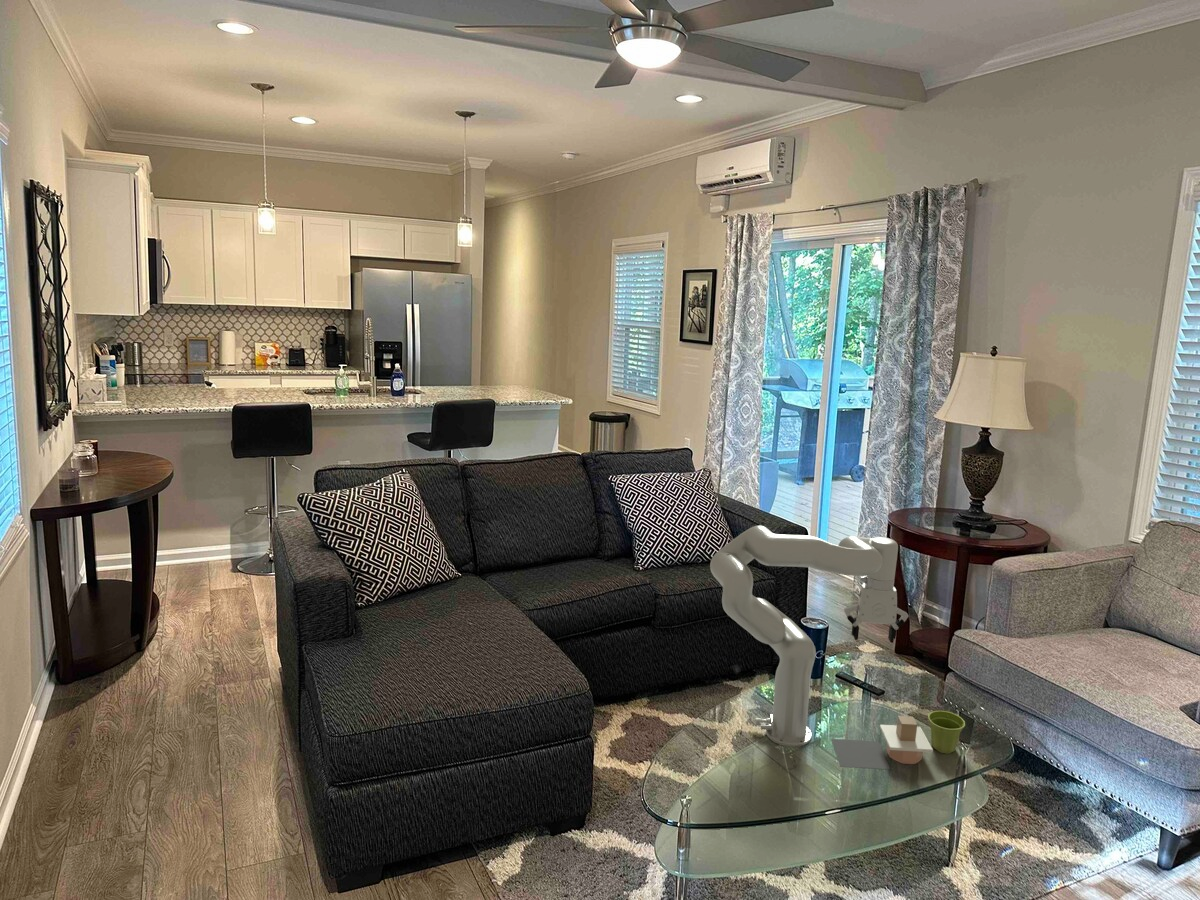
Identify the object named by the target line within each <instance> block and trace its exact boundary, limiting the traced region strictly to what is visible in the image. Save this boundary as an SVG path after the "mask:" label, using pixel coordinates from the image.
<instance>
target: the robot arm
mask: <svg viewBox="0 0 1200 900" xmlns="http://www.w3.org/2000/svg"><path fill="white" fill-rule="evenodd" d="M898 552H899V544H898V543H897V541H895V540H894V539H893V538H889V537H883V536H879V537H874V538H873V537H871V538H870V537H862V536H854V535H853V536H851V535H850V536H847V537H845V538H843V539H842V540H840V541H839V543H838V545H837V544H834V543H830V542H829V541H826V540H824V539H822V538H819V537H818V536H817V537H816V536H812V535H809V534H808V535H805V534H780V533H774V532H772V531H771V530H770V529H769V528H768V527H766V526H764V525H754V526H752V527H750V528H748V529H746V530H745V531H743V532H741V533H740V534H739V535H738V536H736V537H734V539H732V540H731V541H730V542H728V543H727V544H726V545H724V546H723V547H721V549H719V550H718V551H716V552H715V554H713V556H712V557H711V559H710V565H709V569H710V572H711V575H712V576H713V578H715V580H716V581H717V582H718V583H719V584H720V585H721V587H722V596H721V604H722V608H723V611H724V612H725V613H726V614H727V616H728V617H729V618H731V619H732V620H733V621H735V622H736V623H737V624H738V625H739V626H740V627H741V628H743V629H744V630H746V631H747V632H748V633H749V634H750V635H751V636H753V638H754V639H756V640H757V641H759V642H761V643H763V644H765V645H769V646H770V647H771V648H772V649H773V651H774V652H775V653H776V654H777V656H778V657H779V663H778V666H777V667H776V670H775V675H774V676H775V678H774V690H773V702H772V703H773V705H772V713H771V714H770V716H769V717H766V718H759V717H756V718H755V720H754V723H755V726H760V730H765V733H766V736H767V738H768V739H770V740H771V741H772V742H774V744H777V745H780V746H784V747H785V746H786V747H801V746H805V745H808V744H809V743H810V742H811V741H812V735H813V734H812V731H811V729H810V728H809V727H808V717H809V716H808V715H809V704H810V703H809V702H810V689H811V676H812V672H813V667H814V663H815V660H816V652H817V651H816V646H815V645H814V642H813V640H812V639H811V638H810V637H809V635H807V633H806V632H805V631H804V630H803V629H801V628H800V627H799V626H798V625H797V624H796V623H795V621H793V620H792V619H791V618H790V617H788V616H787V615H786V614H784V612H782V611H780V610H779V609H778V608H777V607H775V605H773V604H772V603H770V602H769V601H768V600H767V599H765V598H761V597H756V596H755V595H753V586H754V576H753V572H752V571H751V569H750V568H749V566H748V564H749V563H750V562H752V561H753V560H754V559H755V560H756V561H757V562H758V563H759V564H761V565H764V566H767V567H790V568H791V567H794V568H795V567H797V568H811V569H814V570H818V571H823V572H828V573H833V574H838V575H842V576H843V575H844V576H855V577H856V576H857V577H858V576H859V577H860V578H859V581H860V582H861V583H863V584H862V586H861V587H860V591H859V594H858V595H859V596H858V598H857V603H856V604H853V605H850V606H847V607H845V608H844V609H843V611H844V614H845V616H846V618H847V621H848V622H849V623H851V625H852V626H851V636H852V637H853V638H854V640H855V641H858V639H859V634H860V633H859V632H860V626H859V625H860V624H861V623H866V624H876V625H877V624H878V625H879V624H881V625H889V629H888V640H889V642H890V643H892V644H893V643H894V640H896V638H897V630H899V628H900V627H901V626H903V625H904V624H905V622H906V621H907V619H908V618H909V614H908V613H907V611H905V610H902V609H901V608H899V607H898V592H897V591H898V590H897V589H896V587H895V586H894V585H895V579H896V578H895V577H896V568H897V562H898V561H897V560H898ZM853 612H856V615H855V616H854V617H853V615H852V613H853ZM897 615H900V618H898V619H897Z"/></svg>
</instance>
